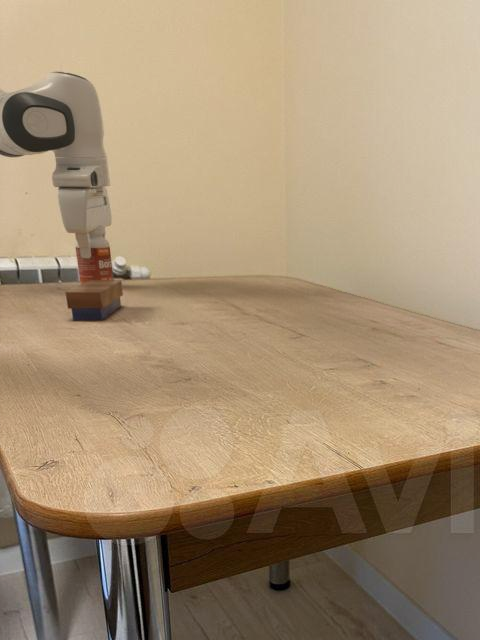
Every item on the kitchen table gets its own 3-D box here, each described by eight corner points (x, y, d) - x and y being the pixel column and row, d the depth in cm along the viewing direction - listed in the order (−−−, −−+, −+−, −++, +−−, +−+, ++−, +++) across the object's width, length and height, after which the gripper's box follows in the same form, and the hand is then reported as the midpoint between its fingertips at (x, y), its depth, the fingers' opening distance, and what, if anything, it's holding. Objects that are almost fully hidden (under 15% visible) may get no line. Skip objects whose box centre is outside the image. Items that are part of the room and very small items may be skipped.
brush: (103, 321, 105) (100, 292, 104) (69, 320, 105) (65, 292, 103) (124, 306, 117) (121, 280, 116) (93, 306, 117) (89, 279, 115)
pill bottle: (106, 289, 133) (98, 227, 129) (74, 288, 134) (66, 226, 129) (119, 285, 139) (112, 225, 135) (89, 284, 140) (81, 224, 135)
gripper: (81, 175, 138) (91, 249, 143) (48, 175, 119) (60, 261, 125) (114, 175, 138) (123, 249, 144) (86, 176, 120) (97, 261, 125)
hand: (93, 255), depth 134 cm, fingers open, 8 cm apart
